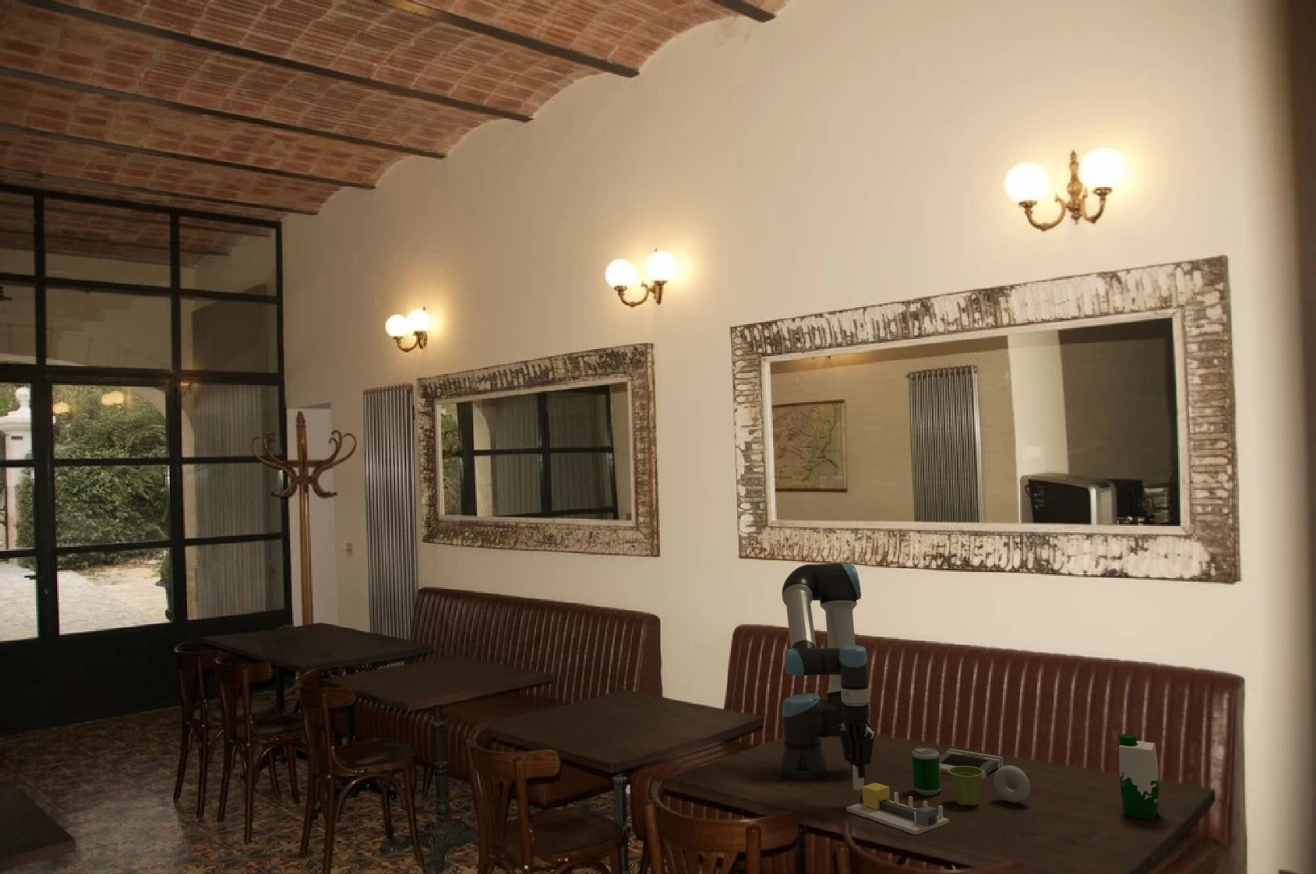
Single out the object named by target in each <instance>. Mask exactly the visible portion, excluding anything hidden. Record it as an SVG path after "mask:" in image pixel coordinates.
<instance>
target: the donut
mask: <svg viewBox="0 0 1316 874" xmlns="http://www.w3.org/2000/svg"><path fill="white" fill-rule="evenodd" d="M1009 779H1012V780H1014V781H1015V783H1016V788H1015V789H1014V790H1013V789H1011V788H1009V787H1008V785H1007V780H1009ZM992 780H993V782H992V783H993V787H994V790H995V792H996V793H997V795H998V796H999V797H1000V798H1001V799H1003V800H1004V801H1005V802H1009V803H1010V802H1011V804H1018V803H1021V802H1023V801H1024V800H1026V799H1027V798H1028V796H1029V794H1030V789H1031V784H1030V780H1029V778H1028V776H1027V774H1026V773H1025V772H1024V771H1023V770H1022V769H1020V768H1019V767H1017V766H1014V765H1003V767H1000V768H997V770H996V771H995V773H994V775H993V779H992Z"/></svg>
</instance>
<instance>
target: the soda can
mask: <svg viewBox="0 0 1316 874" xmlns="http://www.w3.org/2000/svg"><path fill="white" fill-rule="evenodd" d="M911 756H912V757H911V759H912V761H911V762H912V778H913V779H912V780H913V781H912V784H913V790H914V791H915V792H916V793H917V792H918V793H917V794H919V793H920V794H919V795H921V794H922V796H936V795H938V794H939V792H940V791H941V789H942V786H941V773H940V759H939V756H940V753H939V751H937V750H936V748H934V747H930V746H919V747H916V748H915V749H914V750H913V751H912V752H911ZM937 793H938V794H937ZM935 794H936V795H935Z"/></svg>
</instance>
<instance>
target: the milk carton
mask: <svg viewBox="0 0 1316 874" xmlns="http://www.w3.org/2000/svg"><path fill="white" fill-rule="evenodd" d="M1118 755H1119V757H1118V763H1119V781H1120V782H1119V783H1120V784H1119V785H1120V797H1121V803H1122V809H1123V815H1124V817H1125V816H1126V817H1133V818H1138V819H1139V818H1140V819H1149V820H1155V818H1156V815H1157V812H1158V806H1159V798H1160V785H1159V782H1160V781H1159V768H1158V767H1159V766H1158V763H1159V762H1158V755H1157V747H1156V743H1155V742H1150V741H1149V742H1147V741H1145V740H1137V735H1135V734H1131V733H1122V734H1119V746H1118Z"/></svg>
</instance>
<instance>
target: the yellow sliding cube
mask: <svg viewBox="0 0 1316 874" xmlns="http://www.w3.org/2000/svg"><path fill="white" fill-rule="evenodd" d="M861 790H862V795H863V805H865V806H868V807H871V808H874V809H877V810H878V809H879V801H882V800H887V801H890V798H891V797H890V796H891V795H890V794H891V793H890V786H888V785H884V784H881V783H877V782H874V783H873V782H872V783H870V784H867V785H864V786H863V787H862V789H861Z"/></svg>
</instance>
